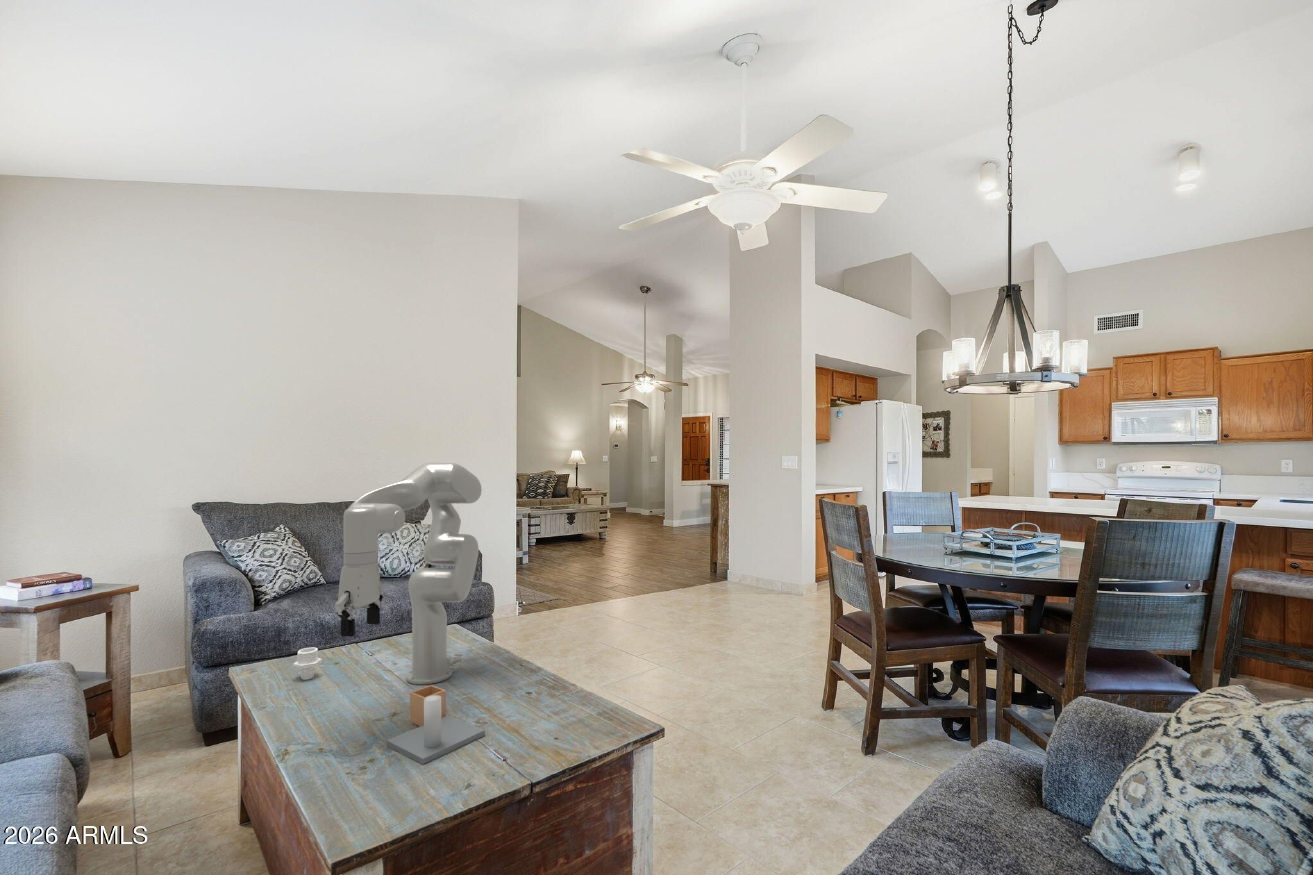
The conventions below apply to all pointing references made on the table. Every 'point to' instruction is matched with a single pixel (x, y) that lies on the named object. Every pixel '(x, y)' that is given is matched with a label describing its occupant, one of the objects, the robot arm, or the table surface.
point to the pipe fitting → (307, 662)
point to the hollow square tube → (418, 703)
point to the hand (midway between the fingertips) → (361, 629)
